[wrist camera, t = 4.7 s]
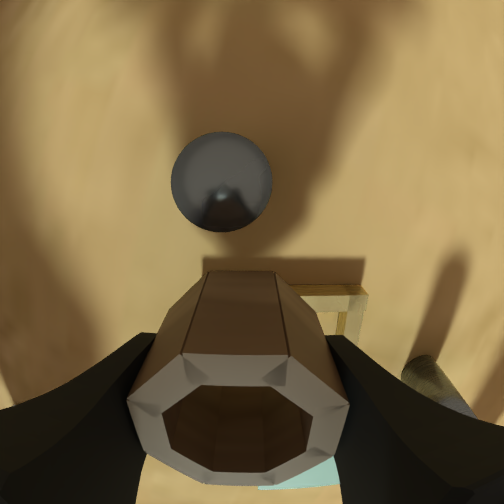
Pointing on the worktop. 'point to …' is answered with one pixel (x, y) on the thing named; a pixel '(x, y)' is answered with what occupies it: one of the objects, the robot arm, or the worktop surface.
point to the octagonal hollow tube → (239, 384)
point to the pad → (311, 477)
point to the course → (248, 209)
